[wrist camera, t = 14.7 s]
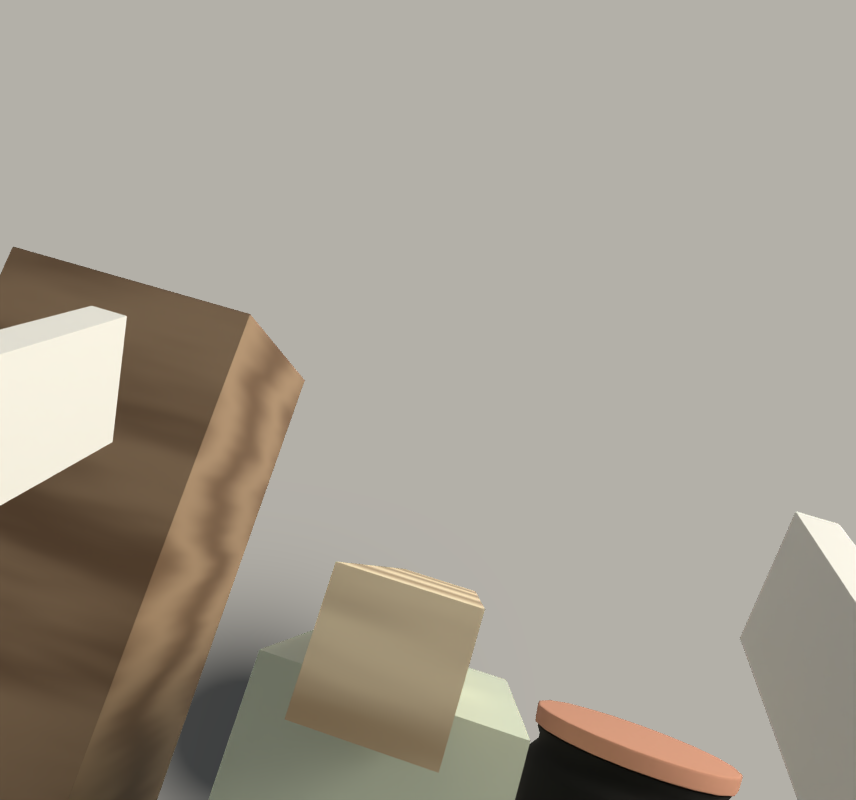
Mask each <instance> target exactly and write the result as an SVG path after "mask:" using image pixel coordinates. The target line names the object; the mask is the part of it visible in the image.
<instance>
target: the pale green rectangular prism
mask: <svg viewBox="0 0 856 800" xmlns="http://www.w3.org/2000/svg"><path fill="white" fill-rule="evenodd" d="M312 633H313V630H312V631H310V632H307V633H304V634H301V635H299V636H296V637H293V638H290V639H287V640H285V641H282V642H279V643H276V644H274V645H271V646H268V647H265V648H263V649H260V650H259V653H258V655H257V659H256V661H255V664H254V667H253V670H252V673H251V676H250V679H249V682H248V685H247V688H246V691H245V694H244V697H243V700H242V703H241V706H240V709H239V712H238V715H237V717H236V720H235V723H234V726H233V729H232V732H231V735H230V738H229V741H228V744H227V747H226V750H225V753H224V756H223V759H222V762H221V765H220V768H219V771H218V774H217V776H216V779H215V782H214V786H213V788H212V791H211V795H210V797H209V800H515V798H516V794H517V790H518V786H519V782H520V779H521V775H522V771H523V767H524V763H525V759H526V756H527V752H528V748H529V744H530V739H529V736H528V734H527V731H526V729H525V726H524V724H523V721H522V719H521V716H520V714H519V711H518V708H517V706H516V703H515V701H514V698H513V696H512V693H511V691H510V688H509V686H508V684H507V681H506V680H505V679H502V678H499V677H496V676H493V675H490V674H486V673H483V672H480V671H477V670H474V669H471V668H468V671H467V674H466V678H465V681H464V685H463V689H462V692H461V696H460V699H459V703H458V706H457V710H456V713H455V717H454V720H453V724H452V727H451V731H450V735H449V738H448V742H447V745H446V749H445V752H444V756H443V759H442V763H441V766H440V770H439V773H437V772H435V771H432V770H429V769H426V768H423V767H420V766H417V765H414V764H412V763H409V762H406V761H403V760H400V759H397V758H394V757H391V756H388V755H386V754H383V753H380V752H377V751H374V750H371V749H368V748H365V747H363V746H360V745H357V744H354V743H351V742H348V741H345V740H342V739H340V738H337V737H334V736H331V735H328V734H325V733H322V732H319V731H316V730H314V729H311V728H308V727H305V726H302V725H299V724H296V723H293V722H291V721H288V720H285V716H286V713H287V710H288V707H289V704H290V700H291V697H292V694H293V691H294V688H295V685H296V682H297V679H298V676H299V673H300V670H301V667H302V664H303V661H304V658H305V655H306V651H307V648H308V645H309V642H310V639H311V636H312Z"/></svg>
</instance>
